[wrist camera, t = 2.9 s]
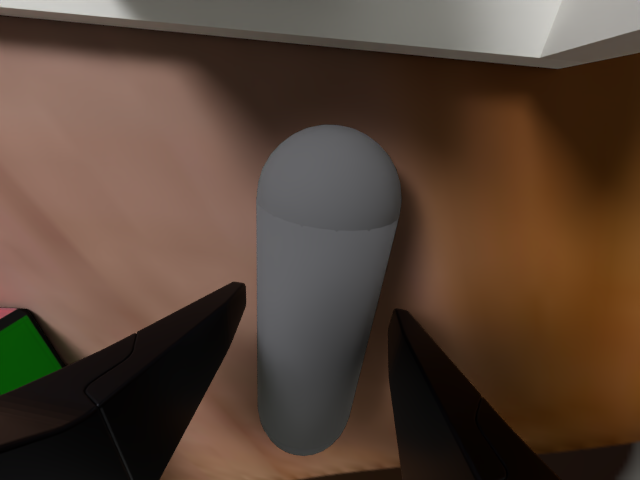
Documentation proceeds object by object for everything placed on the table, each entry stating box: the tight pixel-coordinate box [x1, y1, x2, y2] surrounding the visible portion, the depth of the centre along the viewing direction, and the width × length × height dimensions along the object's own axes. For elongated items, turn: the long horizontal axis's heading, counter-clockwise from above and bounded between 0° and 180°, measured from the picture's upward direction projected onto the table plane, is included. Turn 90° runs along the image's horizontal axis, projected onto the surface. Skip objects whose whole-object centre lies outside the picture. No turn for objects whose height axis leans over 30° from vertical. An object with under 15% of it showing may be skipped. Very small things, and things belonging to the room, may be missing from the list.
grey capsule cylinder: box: [256, 125, 402, 456], centre depth 9 cm, size 12×4×4 cm, turn 174°
